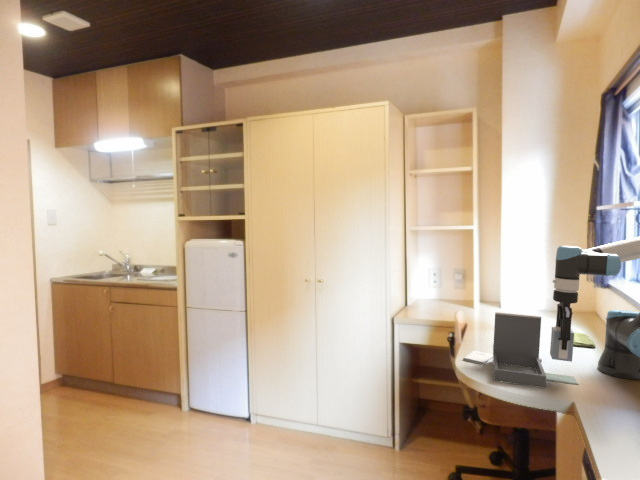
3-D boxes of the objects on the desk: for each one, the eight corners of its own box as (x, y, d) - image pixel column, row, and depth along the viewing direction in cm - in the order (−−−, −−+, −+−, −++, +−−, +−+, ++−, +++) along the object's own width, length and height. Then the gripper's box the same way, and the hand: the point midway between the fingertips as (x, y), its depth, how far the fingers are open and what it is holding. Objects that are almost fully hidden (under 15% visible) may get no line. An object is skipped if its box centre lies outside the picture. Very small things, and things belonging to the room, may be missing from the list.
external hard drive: (463, 361, 176) (473, 353, 186) (484, 366, 171) (493, 358, 181) (463, 357, 176) (473, 349, 186) (484, 362, 171) (494, 354, 181)
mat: (574, 377, 160) (574, 376, 160) (578, 384, 154) (578, 383, 154) (543, 373, 164) (543, 372, 164) (545, 380, 157) (545, 379, 157)
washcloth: (563, 346, 199) (563, 339, 198) (556, 335, 215) (556, 329, 215) (597, 350, 194) (597, 342, 194) (587, 338, 211) (587, 332, 211)
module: (568, 356, 160) (570, 327, 159) (571, 361, 154) (574, 332, 153) (549, 353, 162) (552, 325, 161) (552, 359, 156) (554, 329, 155)
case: (540, 367, 170) (543, 316, 168) (548, 388, 150) (551, 330, 148) (492, 361, 175) (495, 311, 174) (494, 380, 156) (497, 325, 154)
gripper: (549, 285, 166) (545, 346, 168) (558, 294, 148) (553, 362, 150) (572, 286, 164) (567, 348, 166) (584, 296, 146) (578, 365, 148)
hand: (560, 355), depth 158 cm, fingers closed on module, 6 cm apart
